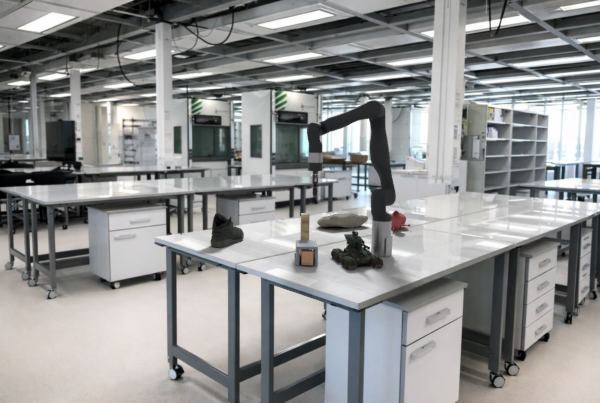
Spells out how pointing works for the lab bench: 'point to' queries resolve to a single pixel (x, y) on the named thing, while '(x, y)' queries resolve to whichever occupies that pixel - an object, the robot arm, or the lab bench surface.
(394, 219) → the toy
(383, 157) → the robot arm
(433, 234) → the lab bench surface
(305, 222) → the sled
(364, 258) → the toy tank
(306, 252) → the block
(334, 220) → the stone
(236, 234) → the sneaker
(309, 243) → the tunnel
